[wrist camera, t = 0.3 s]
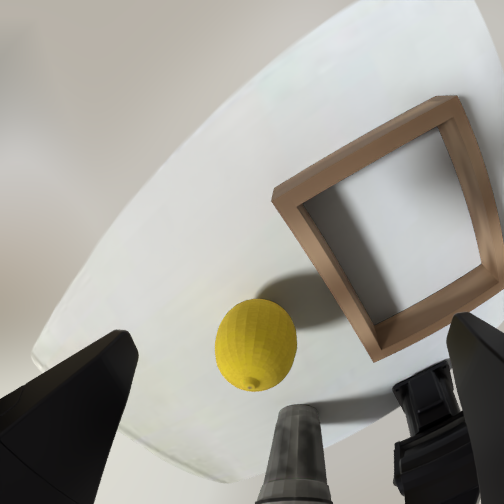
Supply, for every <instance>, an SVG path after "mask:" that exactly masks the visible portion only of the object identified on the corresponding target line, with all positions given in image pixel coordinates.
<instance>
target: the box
mask: <svg viewBox="0 0 504 504" xmlns="http://www.w3.org/2000/svg"><path fill="white" fill-rule="evenodd" d="M436 126H437V127H438V129H439V132H440V134H441V136H442V138H443V141H444V143H445V145H446V148H447V150H448V153H449V155H450V158H451V160H452V163H453V165H454V168H455V171H456V173H457V176H458V179H459V182H460V185H461V188H462V191H463V194H464V197H465V200H466V203H467V206H468V210H469V213H470V217H471V220H472V224H473V228H474V232H475V236H476V240H477V244H478V248H479V253H480V258H481V263H482V264H481V265H479V266H478V267H476V268H475V269H473V270H472V271H470V272H469V273H467V274H466V275H464V276H462V277H461V278H459V279H458V280H456V281H454V282H453V283H451V284H450V285H448V286H446V287H445V288H443V289H441V290H440V291H438V292H436V293H434V294H433V295H431V296H429V297H427V298H426V299H424V300H422V301H420V302H419V303H417V304H415V305H413V306H411V307H409V308H408V309H406V310H404V311H402V312H400V313H398V314H396V315H394V316H392V317H390V318H388V319H387V320H385V321H383V322H381V323H379V324H377V325H373V323H372V321H371V319H370V318H369V316H368V314H367V312H366V310H365V308H364V307H363V305H362V303H361V301H360V299H359V297H358V296H357V294H356V292H355V290H354V289H353V287H352V285H351V283H350V282H349V280H348V278H347V276H346V275H345V273H344V271H343V269H342V268H341V266H340V264H339V263H338V261H337V259H336V258H335V256H334V254H333V252H332V251H331V249H330V247H329V246H328V244H327V243H326V241H325V239H324V238H323V236H322V234H321V233H320V231H319V229H318V228H317V226H316V225H315V223H314V221H313V220H312V218H311V217H310V215H309V213H308V212H307V210H306V209H305V207H304V206H303V204H302V203H304V202H305V201H307V200H309V199H310V198H312V197H314V196H315V195H317V194H319V193H321V192H322V191H324V190H326V189H327V188H329V187H331V186H333V185H334V184H336V183H338V182H339V181H341V180H343V179H345V178H346V177H348V176H350V175H352V174H353V173H355V172H357V171H358V170H360V169H362V168H364V167H365V166H367V165H369V164H371V163H372V162H374V161H376V160H378V159H379V158H381V157H383V156H385V155H386V154H388V153H390V152H392V151H393V150H395V149H397V148H399V147H400V146H402V145H404V144H406V143H408V142H409V141H411V140H413V139H415V138H416V137H418V136H420V135H422V134H424V133H425V132H427V131H429V130H431V129H433V128H434V127H436ZM271 202H272V203H273V205H274V206H275V207H276V209H277V210H278V212H279V213H280V215H281V216H282V218H283V219H284V221H285V222H286V224H287V225H288V227H289V228H290V230H291V231H292V233H293V234H294V236H295V237H296V239H297V240H298V242H299V243H300V245H301V246H302V248H303V249H304V251H305V252H306V254H307V256H308V257H309V259H310V260H311V262H312V263H313V265H314V266H315V268H316V269H317V271H318V273H319V274H320V276H321V277H322V279H323V280H324V282H325V284H326V285H327V287H328V288H329V290H330V291H331V293H332V295H333V296H334V298H335V299H336V301H337V303H338V304H339V306H340V308H341V309H342V311H343V312H344V314H345V316H346V317H347V319H348V321H349V322H350V324H351V325H352V327H353V329H354V330H355V332H356V334H357V335H358V337H359V339H360V340H361V342H362V344H363V345H364V347H365V349H366V351H367V352H368V354H369V356H370V357H371V359H372V361H373V362H377V361H379V360H381V359H383V358H385V357H387V356H390V355H392V354H394V353H396V352H398V351H400V350H402V349H404V348H406V347H408V346H410V345H412V344H414V343H416V342H418V341H420V340H422V339H423V338H425V337H427V336H429V335H431V334H433V333H434V332H436V331H438V330H440V329H442V328H443V327H445V326H447V325H449V324H450V323H451V321H452V318H453V316H454V315H455V314H456V313H460V312H470V311H472V310H473V309H475V308H476V307H478V306H479V305H481V304H482V303H484V302H485V301H487V300H488V299H490V298H491V297H493V296H494V295H496V294H497V293H499V292H500V291H501V290H503V289H504V243H503V237H502V231H501V226H500V221H499V216H498V212H497V207H496V203H495V199H494V195H493V191H492V187H491V184H490V180H489V177H488V173H487V170H486V167H485V164H484V161H483V158H482V155H481V152H480V149H479V146H478V143H477V141H476V138H475V135H474V133H473V130H472V128H471V125H470V123H469V120H468V118H467V116H466V113H465V111H464V109H463V107H462V104H461V102H460V100H459V98H458V96H457V95H455V96H435V97H433V98H431V99H429V100H427V101H425V102H423V103H421V104H420V105H418V106H416V107H414V108H412V109H410V110H408V111H406V112H405V113H403V114H401V115H399V116H397V117H395V118H394V119H392V120H390V121H388V122H386V123H384V124H383V125H381V126H379V127H377V128H375V129H374V130H372V131H370V132H368V133H367V134H365V135H363V136H361V137H359V138H358V139H356V140H354V141H352V142H351V143H349V144H347V145H345V146H344V147H342V148H340V149H339V150H337V151H335V152H333V153H332V154H330V155H328V156H327V157H325V158H323V159H322V160H320V161H318V162H316V163H315V164H313V165H311V166H310V167H308V168H306V169H305V170H303V171H301V172H300V173H298V174H296V175H295V176H293V177H292V178H290V179H288V180H287V181H285V182H283V183H282V184H280V185H278V186H277V187H275V188H274V191H273V195H272V200H271Z"/></svg>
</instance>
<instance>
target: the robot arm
mask: <svg viewBox="0 0 504 504" xmlns="http://www.w3.org/2000/svg"><path fill="white" fill-rule="evenodd" d="M446 343H447V348H448V352H449V356H450V361H451V365H452V369H453V374H454V378H455V384H456V388H457V392H458V396H459V399H460V403H461V406H462V410H463V411H460V409H459V406H458V403H457V400H456V398H455V395H454V393H453V390H454V389H453V383H452V379H451V374H450V369H449V365H448V363H447V361H444V362H441V363H440V364H438V365H436V366H434V367H432V368H430V369H428V370H426V371H424V372H422V373H420V374H418V375H416V376H414V377H412V378H410V379H408V380H406V381H403V382H401V383H399V384H397V385H395V386H393V388H392V389H393V393H394V394H395V396H396V398H397V400H398V402H399V404H400V405H401V407H402V409H403V411H404V413H405V414H406V418H407V423H408V427H409V431H410V436H411V437H410V438H408V439H405V440H403V441H401V442H400V441H399V442H396V443H395V450H394V479H393V484H394V485H395V486H397V487H398V489H399V491H400V493H401V494H402V495H403V496H405V504H478V503H479V501H480V498H481V504H504V333H503V332H501V331H499V330H498V329H496V328H495V327H493V326H491V325H490V324H488V323H486V322H485V321H483V320H481V319H480V318H478V317H476V316H474V315H473V314H471V313H469V312H460V313H456V314H455V315H454V316H453V318H452V321H451V325H450V328H449V332H448V335H447V340H446ZM138 357H139V354H138V350H137V348H136V346H135V344H134V341H133V339H132V337H131V335H130V333H129V332H128V331H126V330H114V331H112V332H110V333H109V334H107V335H105V336H104V337H102V338H100V339H99V340H97V341H95V342H94V343H92V344H90V345H89V346H87V347H85V348H84V349H82V350H80V351H79V352H77V353H76V354H74V355H72V356H71V357H69V358H67V359H66V360H64V361H62V362H61V363H59V364H57V365H56V366H54V367H52V368H51V369H49V370H48V371H46V372H44V373H43V374H41V375H39V376H38V377H36V378H34V379H33V380H31V381H29V382H28V383H26V384H25V385H23V386H21V387H19V388H18V389H16V390H15V391H13V392H11V393H9V394H8V395H6V396H4V397H3V398H1V399H0V504H94V501H95V497H96V494H97V490H98V487H99V484H100V481H101V477H102V474H103V471H104V468H105V464H106V461H107V458H108V455H109V452H110V449H111V446H112V443H113V440H114V437H115V434H116V431H117V429H118V426H119V423H120V420H121V417H122V414H123V412H124V409H125V406H126V403H127V400H128V396H129V393H130V389H131V385H132V381H133V377H134V373H135V369H136V366H137V362H138Z"/></svg>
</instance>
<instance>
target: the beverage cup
mask: <svg viewBox="0 0 504 504" xmlns="http://www.w3.org/2000/svg"><path fill="white" fill-rule="evenodd" d="M255 504H333V502H332V501H331V495H330V491H329V486H328V485H327V478H326V469H325V460H324V451H323V443H322V435H321V427H320V422H319V417H318V411H317V410H316V409H315V408H313V407H311V406H308V405H291V406H287V407H285V408H283V409H282V410H281V411H280V412H279V415H278V420H277V423H276V427H275V432H274V437H273V442H272V447H271V452H270V456H269V461H268V466H267V470H266V475H265V480H264V484H263V486H262V488H261V490H260V493H259V496H258V499H257V502H255Z"/></svg>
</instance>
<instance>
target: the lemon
mask: <svg viewBox="0 0 504 504" xmlns="http://www.w3.org/2000/svg"><path fill="white" fill-rule="evenodd" d="M296 350H297V336H296V329H295V326H294V324H293V322H292V319H291V317H290V316H289V315H288V313H287V312H286V311H285V310H284V309H283V308H282V307H281V306H279V305H278V304H276V303H274V302H272V301H269V300H264V299H250V300H246V301H243V302H241V303H239V304H237V305H236V306H234V307H233V308H232V309H231V310H230V311H229V312H228V313H227V314H226V316H225V317H224V319H223V320H222V322H221V324H220V326H219V328H218V332H217V336H216V341H215V355H216V362H217V366H218V368H219V370H220V372H221V374H222V375H223V376H224V378H225V379H226V380H227V381H228V382H229V383H231V384H232V385H234V386H235V387H237V388H239V389H242V390H246V391H252V392H256V391H263V390H267V389H270V388H272V387H274V386H276V385H277V384H279V383H280V382H281V381H282V380H283V379H284V378H285V377H286V375H287V374H288V372H289V371H290V369H291V367H292V364H293V361H294V358H295V355H296Z"/></svg>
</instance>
